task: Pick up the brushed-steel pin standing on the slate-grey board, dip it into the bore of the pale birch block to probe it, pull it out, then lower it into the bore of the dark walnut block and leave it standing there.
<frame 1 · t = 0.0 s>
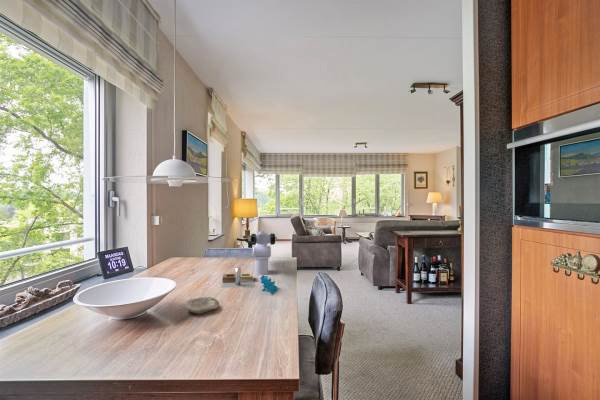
hand: (263, 239, 145), 22 cm above the table, tool horizontal, fingers open, 7 cm apart
fossil: (202, 310, 112), on the table
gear: (269, 293, 133), on the table
block birch: (245, 280, 150), resting on board
pin: (238, 284, 142), point 1 cm above the table, touching board
board: (238, 283, 147), on the table
block walnut: (230, 280, 149), resting on board
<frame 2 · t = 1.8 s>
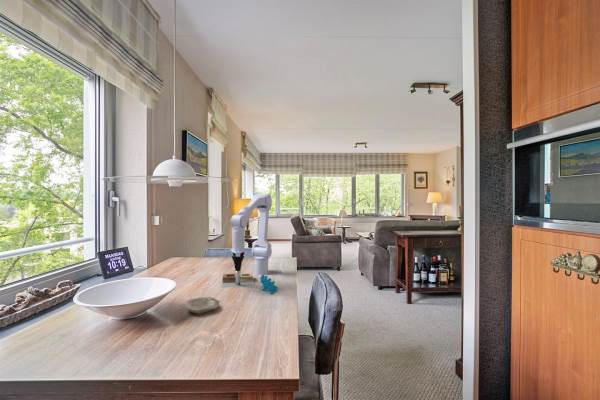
hand: (238, 269, 142), 8 cm above the table, tool pointing down, fingers open, 7 cm apart
nothing on the table moved.
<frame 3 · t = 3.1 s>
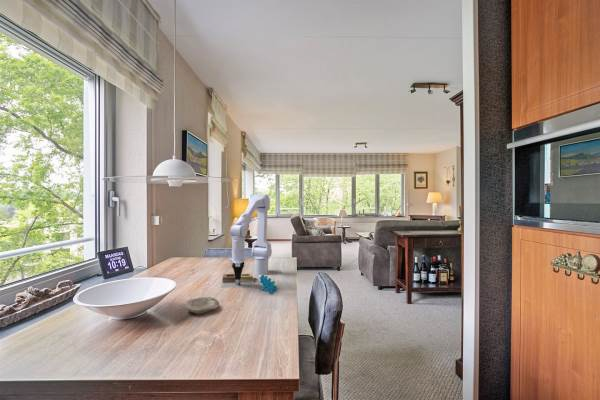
hand: (238, 278, 142), 4 cm above the table, tool pointing down, fingers closed on pin, 2 cm apart
pin: (238, 284, 142), point 1 cm above the table, touching board, gripper
everything else where it was.
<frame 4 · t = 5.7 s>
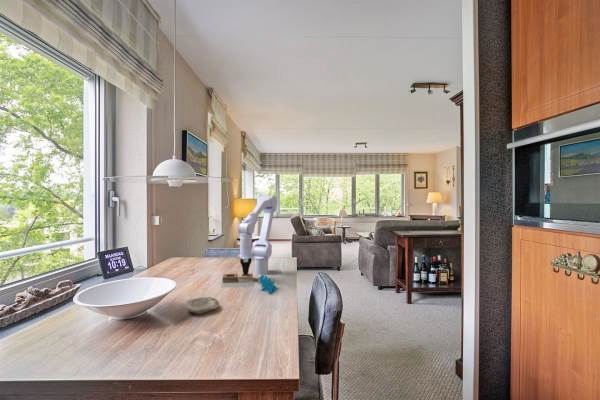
hand: (245, 273, 150), 4 cm above the table, tool pointing down, fingers closed on pin, 2 cm apart
pin: (245, 279, 150), point 1 cm above the table, touching gripper
everything else where it was.
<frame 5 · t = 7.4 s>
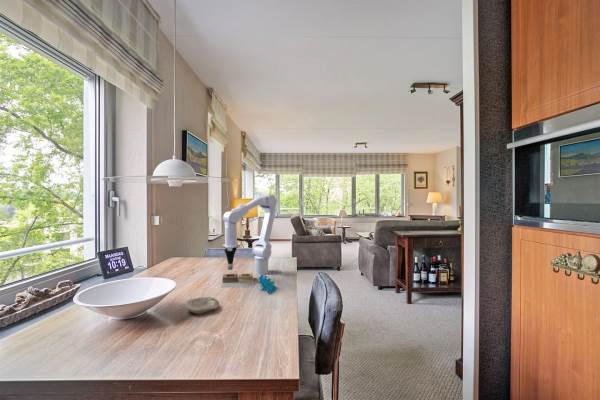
hand: (230, 263, 149), 10 cm above the table, tool pointing down, fingers closed on pin, 2 cm apart
pin: (230, 269, 149), point 6 cm above the table, touching gripper
everything else where it was.
when the fingers open (5 cm above the table, at t = 8.7 s): pin stays where it is, resting on board.
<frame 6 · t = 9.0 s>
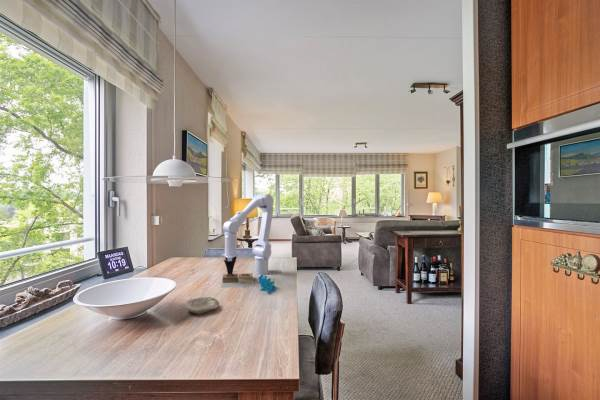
hand: (230, 272, 149), 5 cm above the table, tool pointing down, fingers open, 5 cm apart
pin: (230, 280, 149), point 1 cm above the table, touching board
everything else where it was.
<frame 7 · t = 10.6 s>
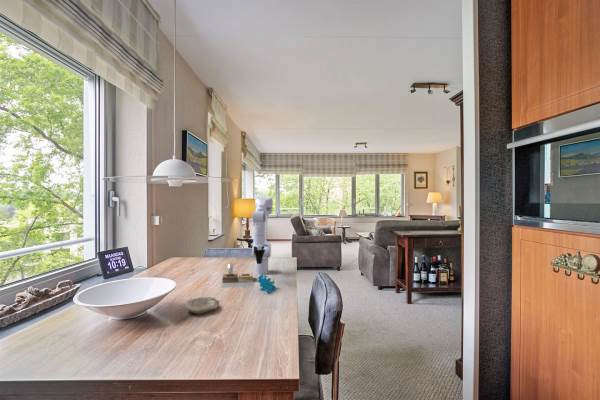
hand: (258, 262, 150), 10 cm above the table, tool pointing down, fingers open, 7 cm apart
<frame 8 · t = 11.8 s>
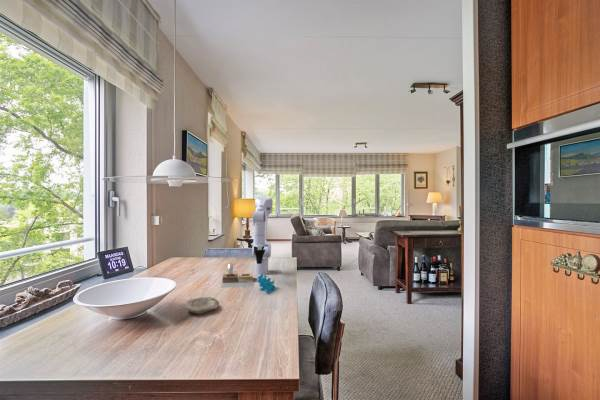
hand: (258, 262, 150), 10 cm above the table, tool pointing down, fingers open, 7 cm apart
at the end: pin 0.1 cm off-centre on the block walnut, point 0.0 cm above the block walnut's base; pin tilted 0°; the gripper is holding nothing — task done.
